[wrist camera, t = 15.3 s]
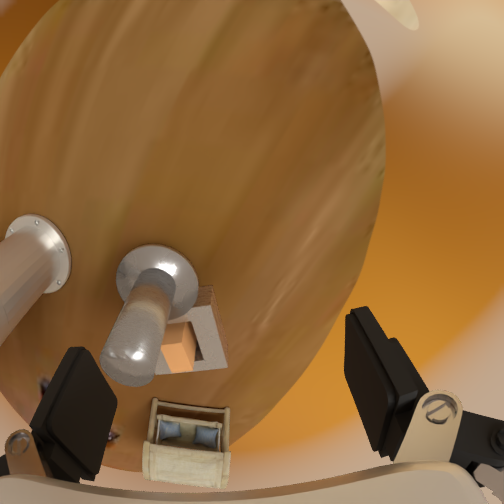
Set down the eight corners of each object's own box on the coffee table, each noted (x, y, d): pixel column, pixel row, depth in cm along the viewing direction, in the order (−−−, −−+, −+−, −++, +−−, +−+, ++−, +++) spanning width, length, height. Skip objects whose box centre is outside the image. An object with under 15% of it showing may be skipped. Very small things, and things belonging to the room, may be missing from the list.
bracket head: (161, 353, 48) (138, 458, 30) (118, 235, 40) (49, 324, 22) (227, 345, 48) (229, 456, 30) (197, 219, 40) (170, 310, 22)
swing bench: (230, 405, 54) (232, 472, 41) (225, 432, 58) (226, 492, 45) (151, 395, 53) (138, 461, 39) (154, 423, 56) (144, 483, 43)
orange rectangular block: (178, 336, 47) (171, 372, 40) (168, 310, 45) (159, 345, 38) (197, 333, 47) (193, 370, 40) (188, 307, 45) (181, 342, 38)
